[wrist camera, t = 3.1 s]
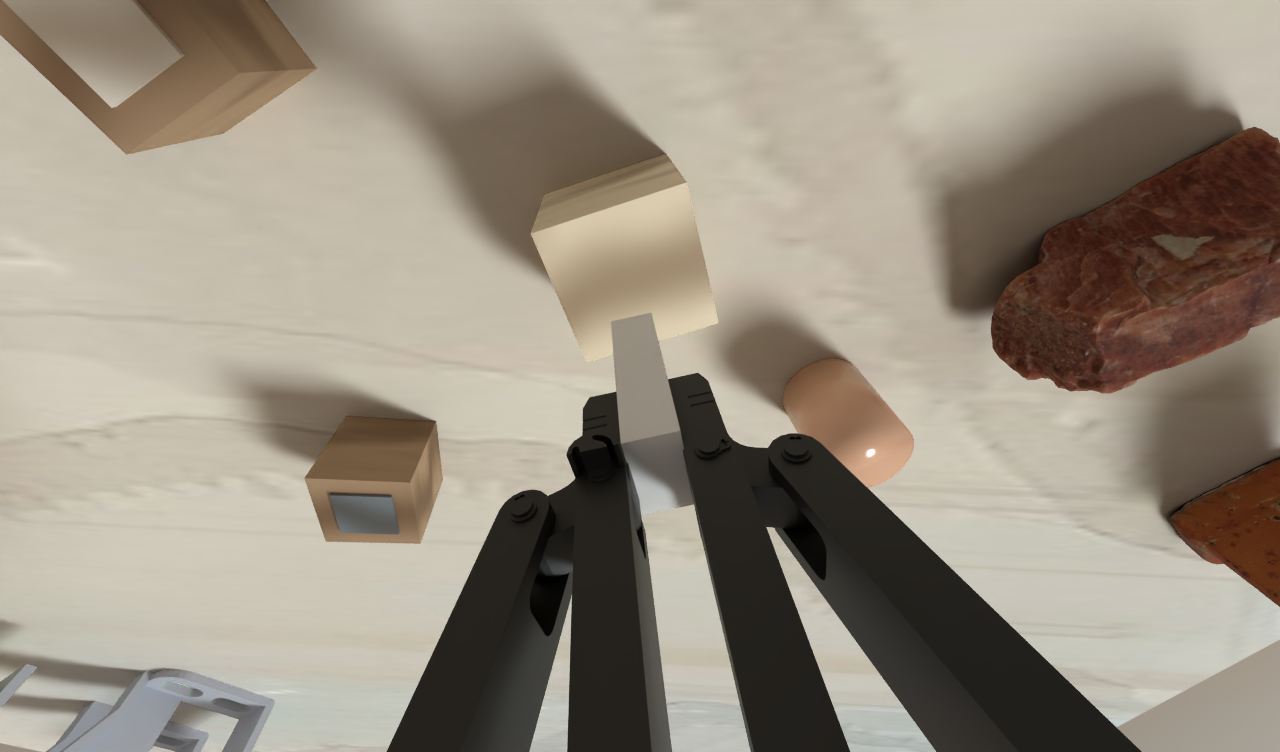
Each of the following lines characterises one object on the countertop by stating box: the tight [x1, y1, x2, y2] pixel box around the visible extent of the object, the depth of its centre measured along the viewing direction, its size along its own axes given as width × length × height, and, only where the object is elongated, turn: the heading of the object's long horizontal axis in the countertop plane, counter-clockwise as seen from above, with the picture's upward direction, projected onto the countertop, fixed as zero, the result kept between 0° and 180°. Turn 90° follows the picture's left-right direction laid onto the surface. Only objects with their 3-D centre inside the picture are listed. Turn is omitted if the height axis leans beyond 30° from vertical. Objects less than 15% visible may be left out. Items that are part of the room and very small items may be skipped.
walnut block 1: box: [0, 0, 317, 154], centre depth 19 cm, size 6×6×6 cm
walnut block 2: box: [305, 416, 443, 544], centre depth 33 cm, size 6×6×6 cm
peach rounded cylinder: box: [783, 359, 914, 488], centre depth 33 cm, size 6×6×7 cm
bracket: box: [0, 664, 274, 752], centre depth 48 cm, size 19×25×10 cm
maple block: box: [531, 154, 719, 363], centre depth 25 cm, size 7×7×7 cm
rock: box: [991, 127, 1280, 393], centre depth 27 cm, size 18×6×9 cm, turn 127°
